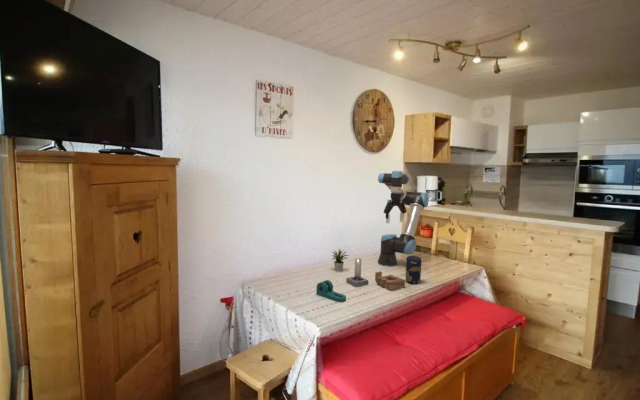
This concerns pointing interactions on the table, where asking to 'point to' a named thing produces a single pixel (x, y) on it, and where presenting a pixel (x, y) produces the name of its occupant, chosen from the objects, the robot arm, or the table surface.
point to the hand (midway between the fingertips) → (394, 222)
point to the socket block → (391, 282)
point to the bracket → (329, 292)
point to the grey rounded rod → (357, 269)
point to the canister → (413, 269)
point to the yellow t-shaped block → (378, 275)
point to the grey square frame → (357, 282)
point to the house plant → (339, 260)
